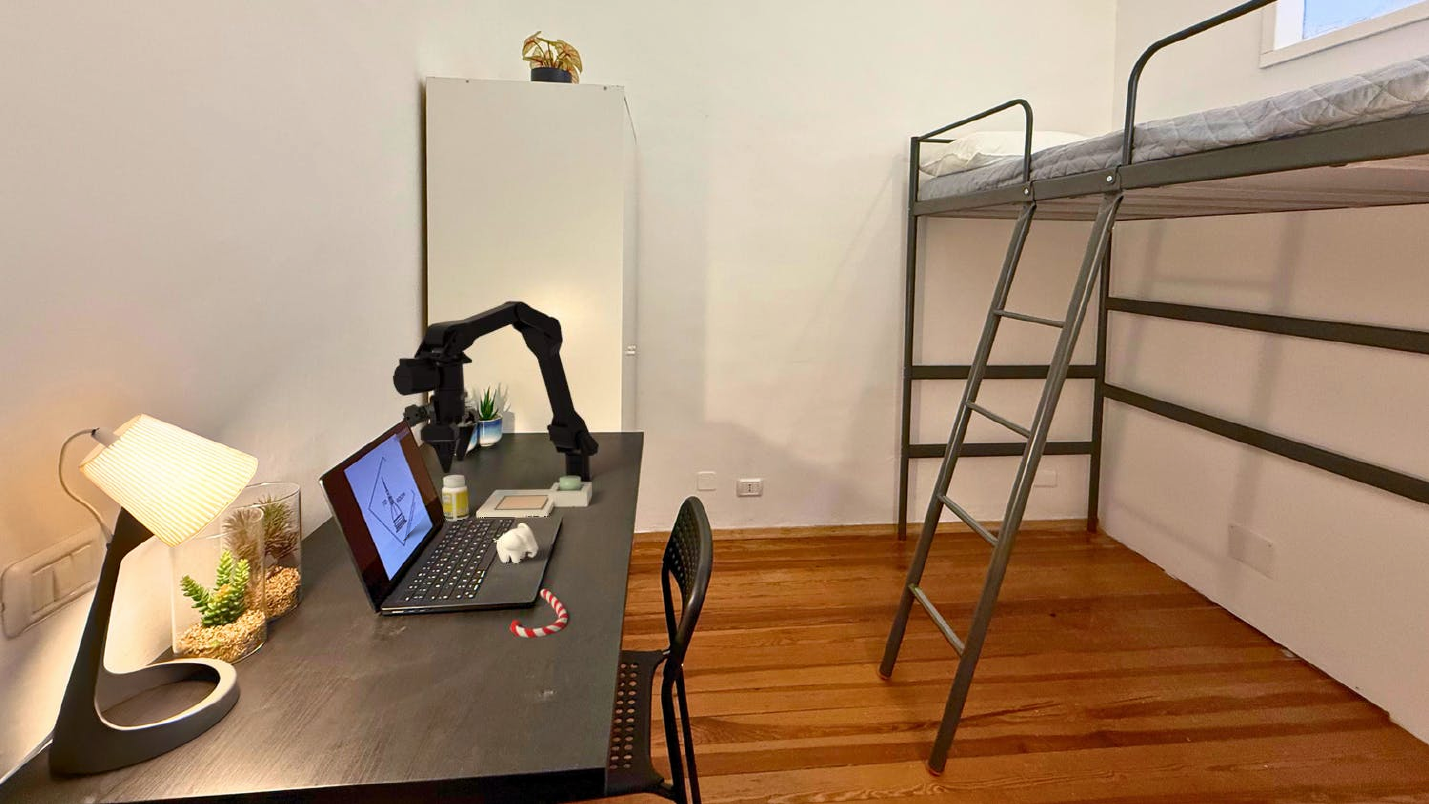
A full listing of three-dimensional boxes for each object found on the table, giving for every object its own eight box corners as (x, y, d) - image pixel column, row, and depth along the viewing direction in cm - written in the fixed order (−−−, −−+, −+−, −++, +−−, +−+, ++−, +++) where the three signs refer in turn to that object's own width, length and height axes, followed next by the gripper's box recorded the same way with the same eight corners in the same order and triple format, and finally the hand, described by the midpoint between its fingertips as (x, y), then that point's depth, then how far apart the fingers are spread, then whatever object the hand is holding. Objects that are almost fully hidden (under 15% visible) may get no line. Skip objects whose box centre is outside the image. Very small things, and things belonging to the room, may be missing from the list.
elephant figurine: (530, 569, 135) (529, 535, 134) (485, 566, 136) (483, 532, 135) (546, 555, 141) (544, 522, 140) (502, 552, 143) (501, 519, 142)
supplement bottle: (470, 514, 165) (468, 473, 163) (467, 521, 160) (465, 479, 159) (445, 515, 164) (443, 474, 162) (442, 522, 159) (439, 481, 158)
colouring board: (496, 495, 178) (495, 489, 178) (560, 494, 178) (560, 488, 178) (476, 517, 162) (476, 511, 162) (547, 517, 162) (547, 510, 162)
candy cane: (566, 586, 126) (567, 628, 111) (566, 594, 126) (568, 637, 111) (514, 590, 124) (509, 633, 110) (514, 598, 124) (509, 642, 110)
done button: (561, 486, 175) (561, 475, 175) (582, 486, 175) (581, 475, 175) (558, 492, 171) (557, 481, 170) (579, 491, 171) (578, 480, 170)
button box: (555, 495, 177) (554, 482, 177) (592, 495, 177) (591, 482, 177) (548, 506, 169) (548, 492, 169) (587, 506, 169) (586, 492, 169)
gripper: (422, 381, 167) (427, 456, 169) (389, 396, 148) (395, 480, 151) (477, 381, 167) (481, 455, 169) (450, 396, 148) (456, 479, 151)
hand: (453, 466), depth 160 cm, fingers open, 9 cm apart
